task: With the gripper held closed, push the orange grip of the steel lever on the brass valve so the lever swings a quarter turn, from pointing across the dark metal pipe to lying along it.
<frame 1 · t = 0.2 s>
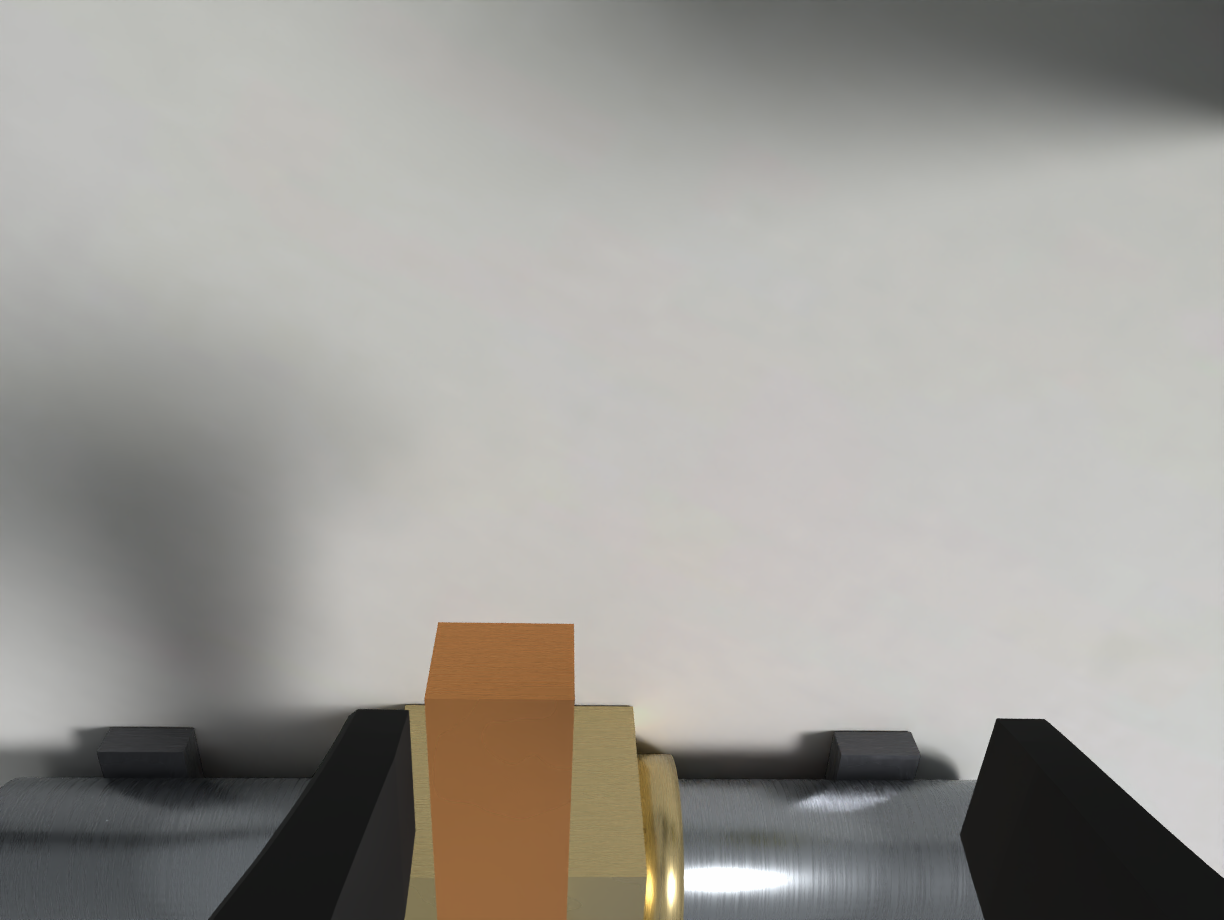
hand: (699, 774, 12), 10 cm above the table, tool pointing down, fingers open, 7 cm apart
valve pipe: (519, 792, 26), on the table
valve lever: (505, 892, 18), point 6 cm above the table, hinge at 0.0°
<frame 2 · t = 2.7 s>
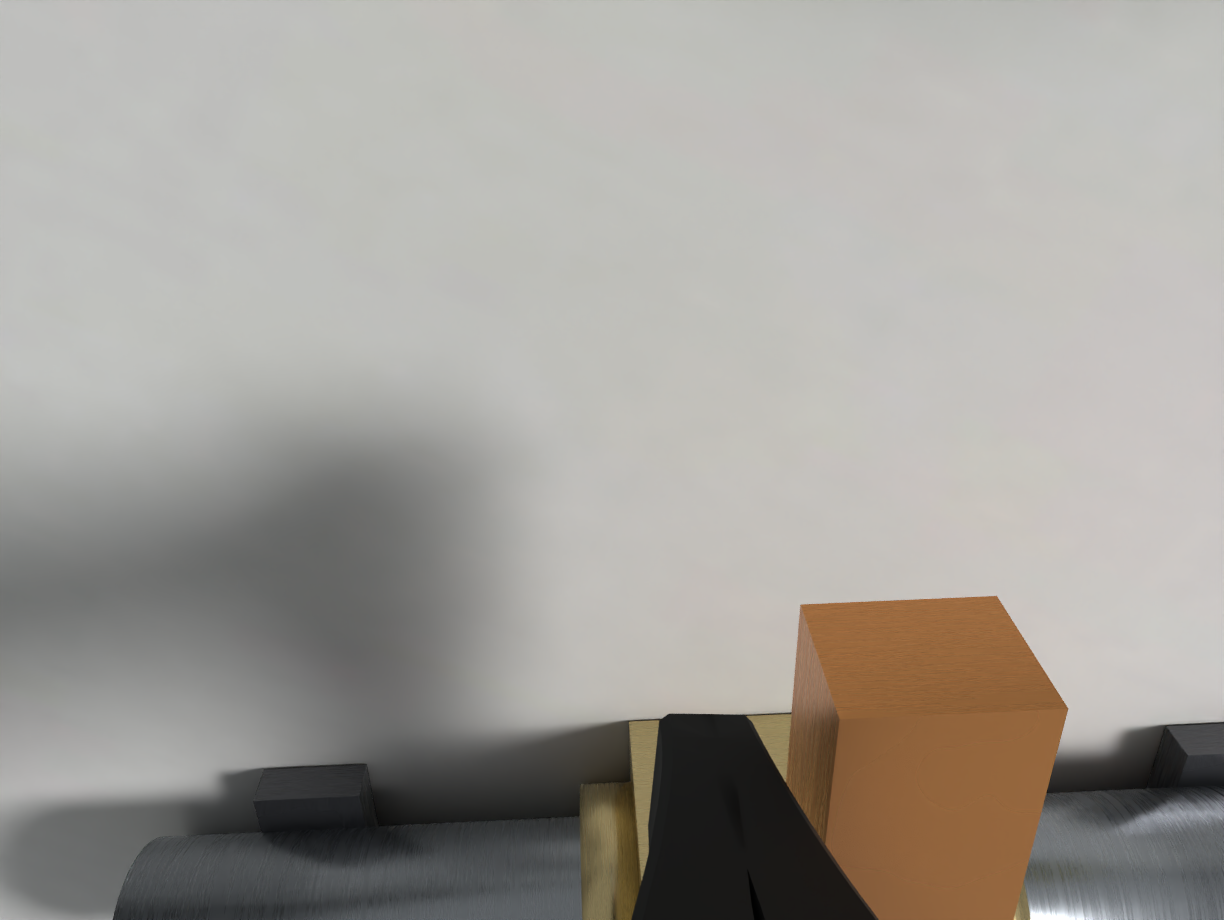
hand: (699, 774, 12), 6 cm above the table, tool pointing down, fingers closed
valve pipe: (764, 822, 21), on the table
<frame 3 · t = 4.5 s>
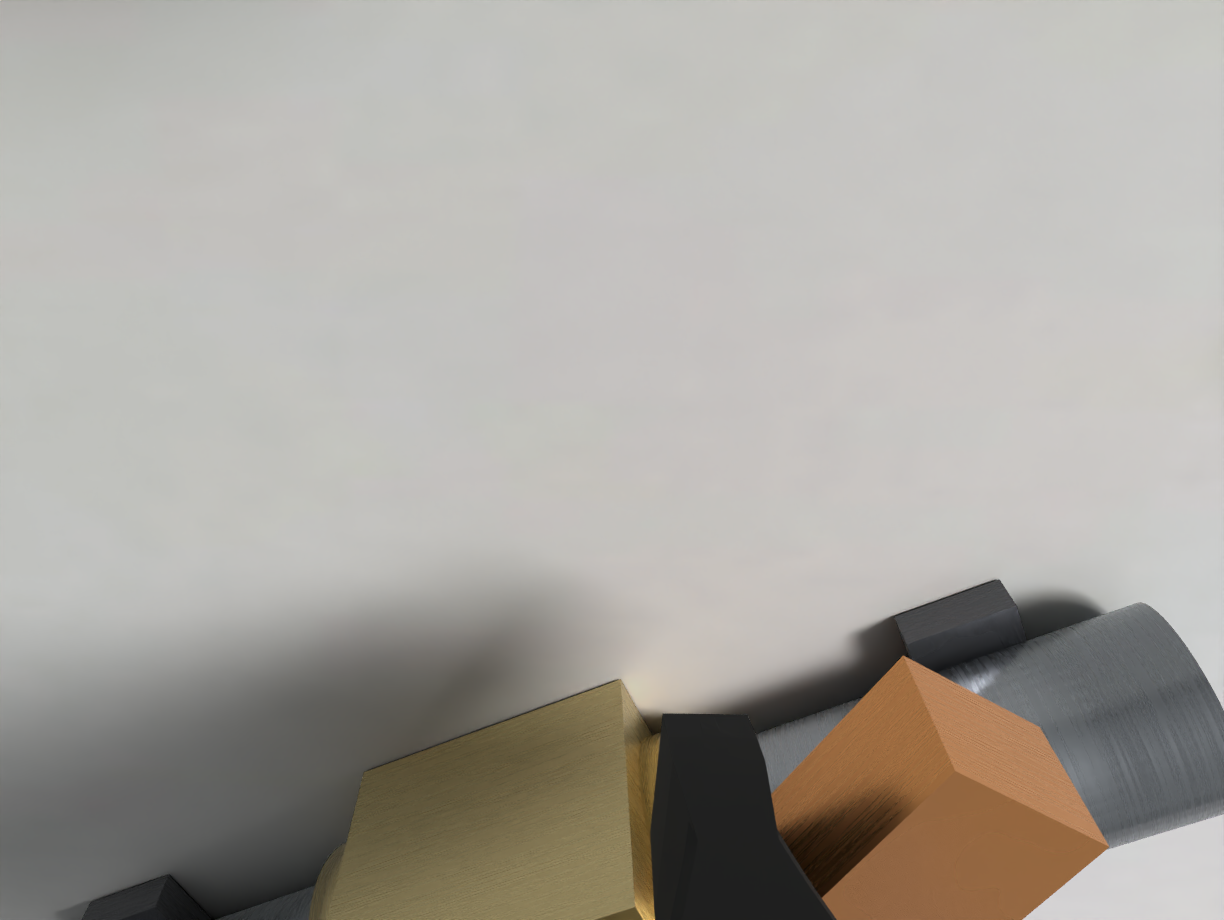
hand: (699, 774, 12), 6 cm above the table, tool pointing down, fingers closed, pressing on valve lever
valve pipe: (554, 824, 21), on the table
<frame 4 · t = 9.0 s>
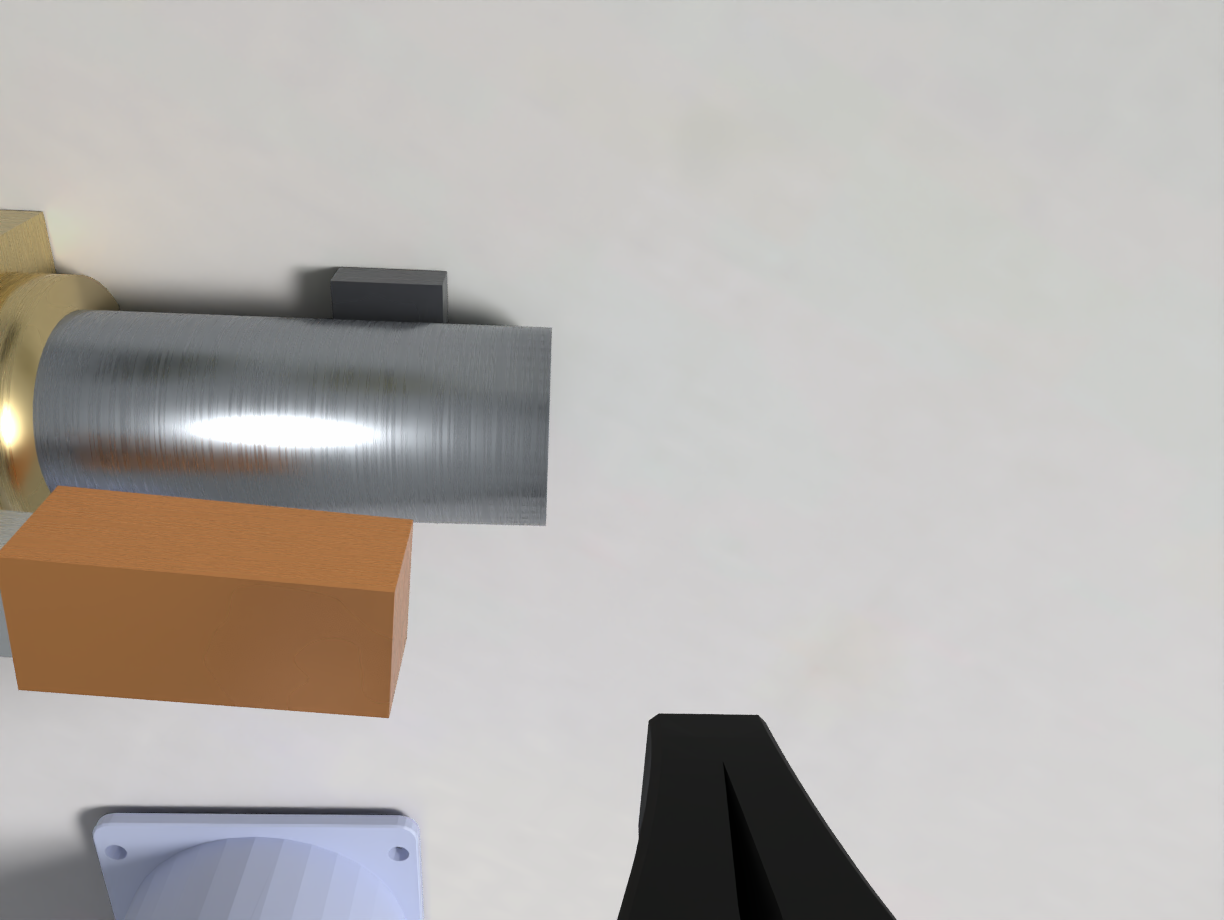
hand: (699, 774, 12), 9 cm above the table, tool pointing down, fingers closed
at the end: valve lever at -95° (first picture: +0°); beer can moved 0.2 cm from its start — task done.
